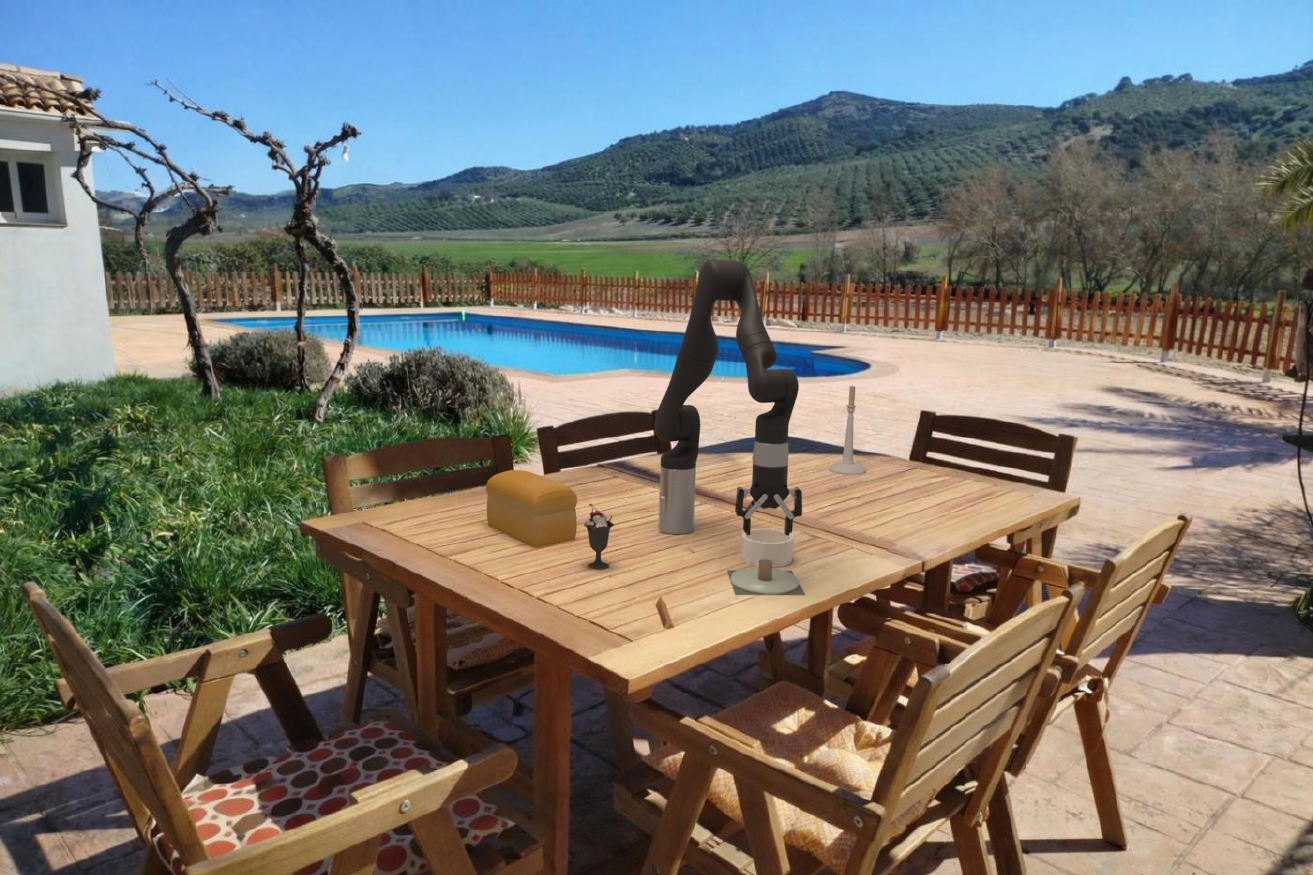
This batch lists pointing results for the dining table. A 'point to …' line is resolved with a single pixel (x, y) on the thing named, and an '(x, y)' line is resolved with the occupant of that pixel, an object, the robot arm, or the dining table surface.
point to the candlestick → (848, 444)
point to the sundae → (598, 536)
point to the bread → (531, 508)
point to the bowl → (767, 547)
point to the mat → (741, 592)
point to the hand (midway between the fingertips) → (767, 534)
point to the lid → (765, 579)
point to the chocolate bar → (664, 614)
